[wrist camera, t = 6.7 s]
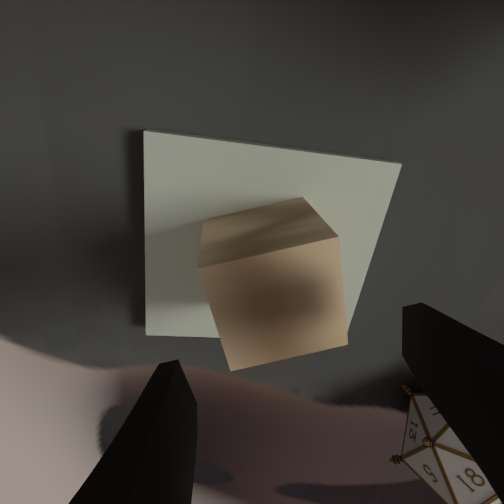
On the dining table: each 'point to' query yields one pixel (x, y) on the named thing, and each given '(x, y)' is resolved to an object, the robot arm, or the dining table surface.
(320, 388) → the dining table surface
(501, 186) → the dining table surface
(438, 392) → the robot arm
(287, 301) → the maple block
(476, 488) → the game die
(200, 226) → the sage tile
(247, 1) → the dining table surface
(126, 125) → the dining table surface
